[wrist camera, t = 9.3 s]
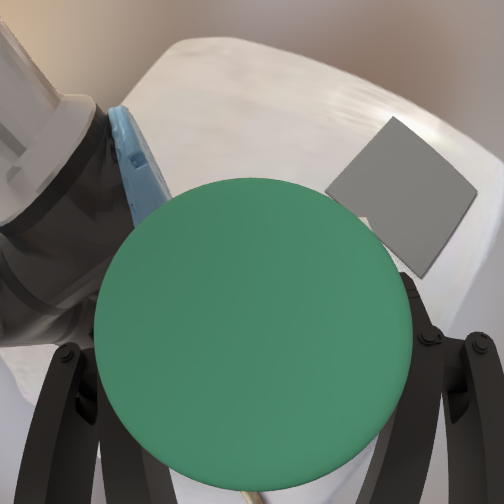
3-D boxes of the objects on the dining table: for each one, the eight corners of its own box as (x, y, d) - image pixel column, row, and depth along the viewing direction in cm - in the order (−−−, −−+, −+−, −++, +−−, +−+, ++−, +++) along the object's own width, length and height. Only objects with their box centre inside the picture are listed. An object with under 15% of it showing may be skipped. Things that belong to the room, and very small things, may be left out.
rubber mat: (324, 191, 39) (324, 190, 38) (392, 117, 39) (393, 116, 39) (419, 277, 35) (420, 277, 35) (476, 191, 36) (477, 190, 36)
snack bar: (267, 505, 32) (265, 517, 30) (257, 508, 33) (255, 520, 30) (236, 454, 34) (232, 464, 32) (226, 457, 35) (221, 467, 32)
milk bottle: (353, 308, 23) (567, 297, 3) (284, 385, 22) (260, 608, 3) (276, 241, 24) (228, 20, 5) (208, 317, 24) (-28, 330, 4)
